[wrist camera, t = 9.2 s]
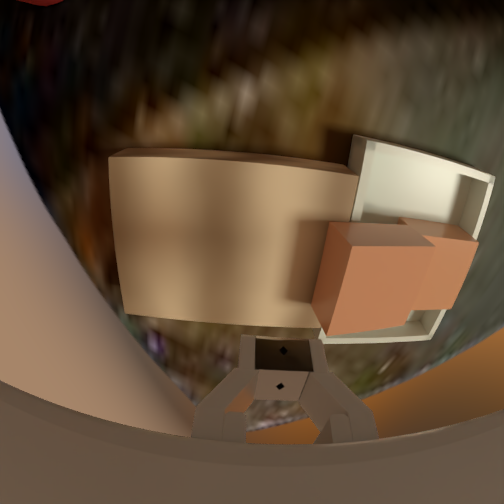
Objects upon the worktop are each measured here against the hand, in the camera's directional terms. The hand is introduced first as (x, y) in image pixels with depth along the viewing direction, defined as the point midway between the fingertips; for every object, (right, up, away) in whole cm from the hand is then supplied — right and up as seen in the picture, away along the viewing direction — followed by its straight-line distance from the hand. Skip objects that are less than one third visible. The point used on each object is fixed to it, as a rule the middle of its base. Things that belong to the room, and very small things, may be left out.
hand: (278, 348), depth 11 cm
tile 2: (+12, +3, +10) cm, 16 cm away
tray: (+10, +4, +11) cm, 15 cm away
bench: (-3, +5, +10) cm, 11 cm away
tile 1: (+6, +3, +8) cm, 11 cm away
